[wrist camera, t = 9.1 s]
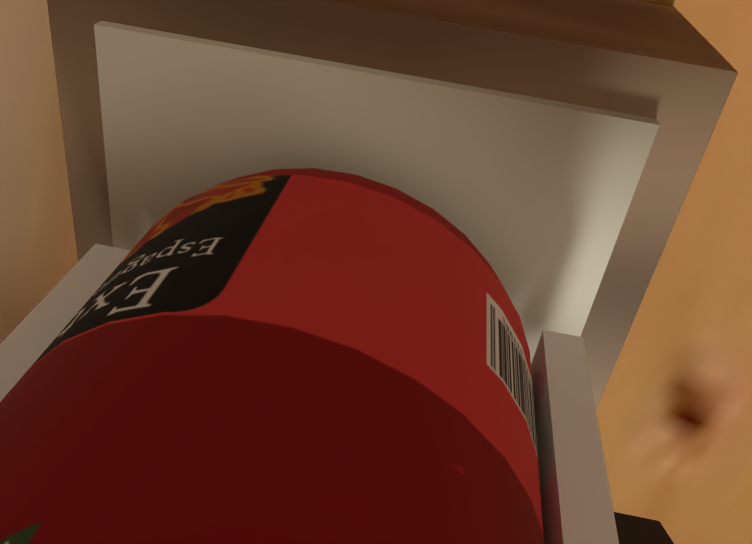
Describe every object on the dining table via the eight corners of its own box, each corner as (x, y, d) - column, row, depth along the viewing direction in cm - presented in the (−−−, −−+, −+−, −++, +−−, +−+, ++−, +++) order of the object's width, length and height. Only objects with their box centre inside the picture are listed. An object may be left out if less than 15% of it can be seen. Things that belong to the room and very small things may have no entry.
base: (536, 396, 22) (546, 537, 18) (171, 324, 23) (94, 443, 19) (673, 7, 16) (743, 77, 11) (156, -81, 16) (31, -47, 12)
